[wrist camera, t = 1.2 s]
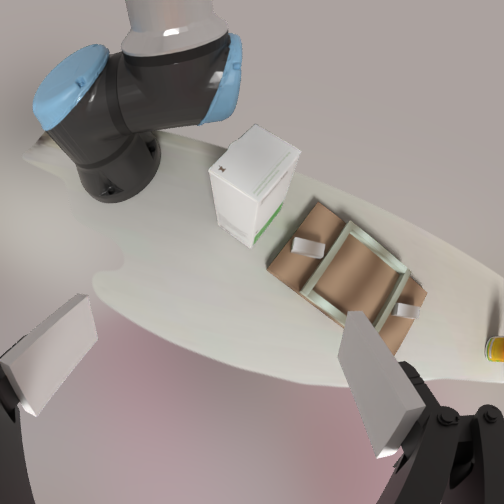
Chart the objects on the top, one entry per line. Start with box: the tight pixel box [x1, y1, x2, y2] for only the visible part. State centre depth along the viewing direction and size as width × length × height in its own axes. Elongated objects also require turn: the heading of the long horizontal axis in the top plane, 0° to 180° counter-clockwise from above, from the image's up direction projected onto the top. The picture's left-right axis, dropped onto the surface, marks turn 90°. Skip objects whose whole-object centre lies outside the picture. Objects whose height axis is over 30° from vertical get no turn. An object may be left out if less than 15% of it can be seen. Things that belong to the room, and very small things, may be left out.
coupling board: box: [267, 202, 427, 356], centre depth 38 cm, size 24×13×3 cm, turn 52°
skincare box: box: [208, 124, 301, 248], centre depth 34 cm, size 8×7×16 cm
